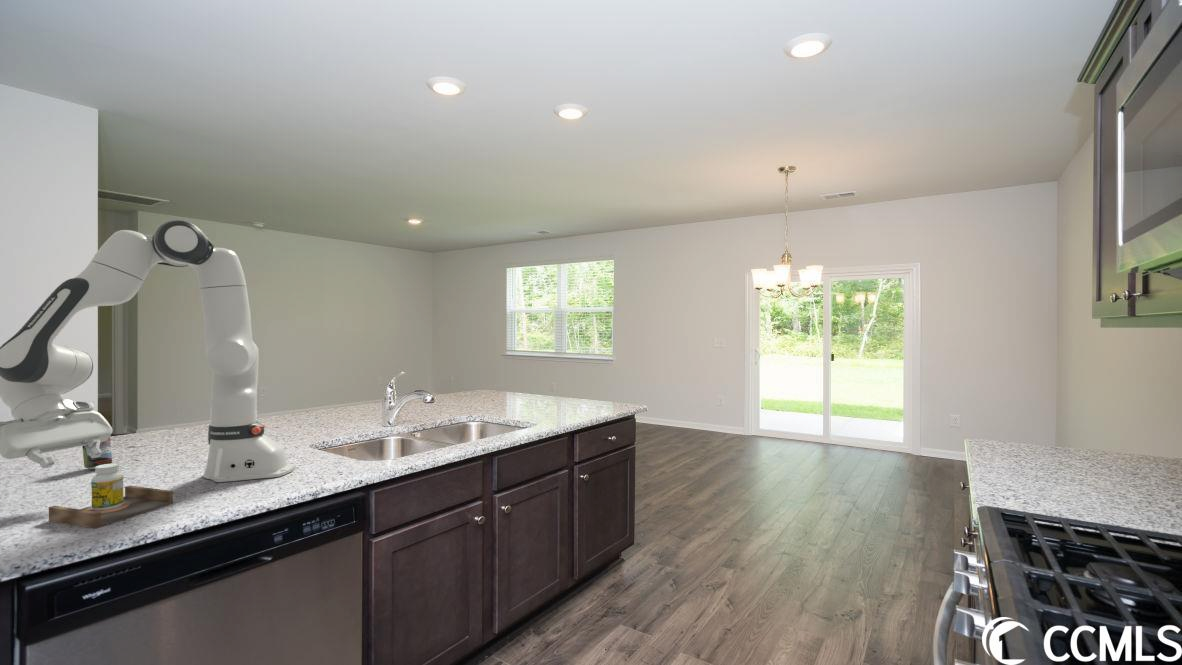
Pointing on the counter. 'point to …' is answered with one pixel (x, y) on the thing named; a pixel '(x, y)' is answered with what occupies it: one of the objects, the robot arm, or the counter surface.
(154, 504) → the walled bay
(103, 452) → the beverage can
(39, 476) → the counter surface
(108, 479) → the supplement bottle
